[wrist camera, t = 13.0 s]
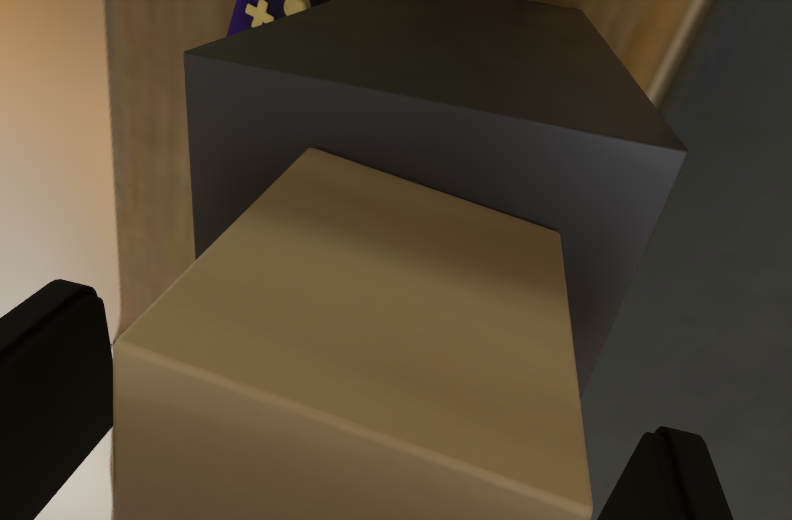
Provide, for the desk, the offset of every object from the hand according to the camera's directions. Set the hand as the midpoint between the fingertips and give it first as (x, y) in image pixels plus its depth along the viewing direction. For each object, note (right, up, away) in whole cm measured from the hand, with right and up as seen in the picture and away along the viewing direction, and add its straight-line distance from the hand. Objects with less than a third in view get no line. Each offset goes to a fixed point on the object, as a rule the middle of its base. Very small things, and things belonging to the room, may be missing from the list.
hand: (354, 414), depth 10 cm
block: (+1, +2, +2) cm, 3 cm away
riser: (+4, +12, +19) cm, 23 cm away
